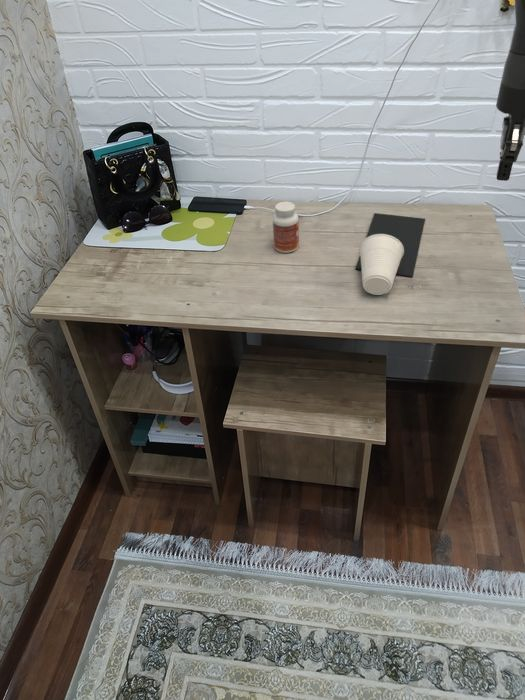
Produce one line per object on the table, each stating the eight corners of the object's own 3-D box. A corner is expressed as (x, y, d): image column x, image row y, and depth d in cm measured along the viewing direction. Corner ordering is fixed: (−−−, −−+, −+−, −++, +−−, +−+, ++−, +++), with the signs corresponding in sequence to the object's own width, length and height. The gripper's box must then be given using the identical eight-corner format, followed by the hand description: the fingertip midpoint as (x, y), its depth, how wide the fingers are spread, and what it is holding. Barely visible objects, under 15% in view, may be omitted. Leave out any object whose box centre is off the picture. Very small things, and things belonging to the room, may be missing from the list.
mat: (412, 277, 128) (412, 276, 128) (355, 269, 132) (355, 268, 132) (425, 219, 146) (425, 218, 146) (374, 214, 150) (374, 213, 150)
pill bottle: (302, 251, 139) (302, 210, 131) (278, 255, 138) (276, 214, 130) (294, 238, 143) (293, 197, 136) (270, 242, 142) (268, 202, 135)
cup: (406, 275, 117) (409, 238, 123) (359, 266, 118) (364, 229, 124) (393, 305, 125) (397, 269, 132) (349, 296, 126) (354, 260, 132)
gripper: (552, 94, 89) (525, 196, 100) (547, 68, 98) (522, 165, 110) (501, 92, 91) (480, 193, 102) (501, 67, 100) (481, 162, 112)
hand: (502, 178), depth 106 cm, fingers closed
